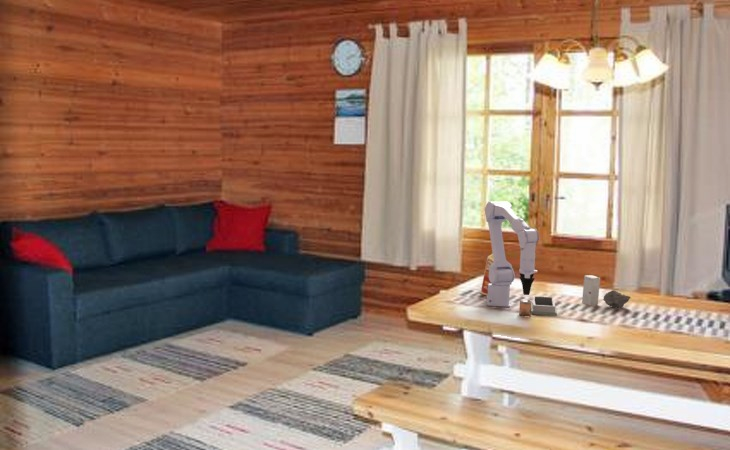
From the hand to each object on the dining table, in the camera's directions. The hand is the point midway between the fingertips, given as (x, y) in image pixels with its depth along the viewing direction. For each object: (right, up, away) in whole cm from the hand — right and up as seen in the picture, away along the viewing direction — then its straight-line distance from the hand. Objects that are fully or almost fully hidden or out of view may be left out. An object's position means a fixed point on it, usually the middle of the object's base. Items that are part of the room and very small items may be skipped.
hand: (526, 292), depth 282 cm
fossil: (+42, -8, +16) cm, 45 cm away
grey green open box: (+9, -8, +8) cm, 15 cm away
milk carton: (-6, -5, +39) cm, 39 cm away
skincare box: (+33, -7, +23) cm, 41 cm away
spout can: (0, -9, +1) cm, 9 cm away
